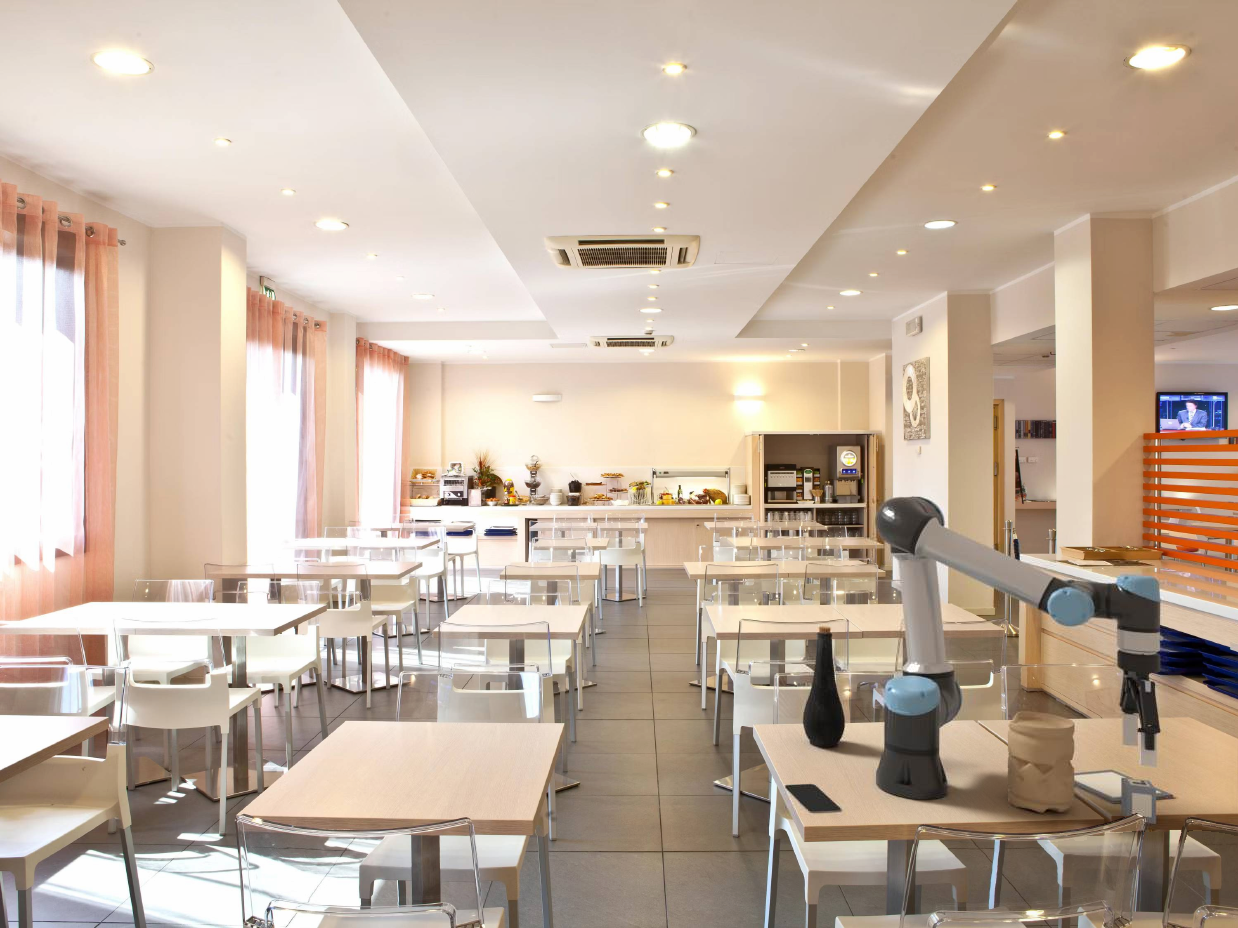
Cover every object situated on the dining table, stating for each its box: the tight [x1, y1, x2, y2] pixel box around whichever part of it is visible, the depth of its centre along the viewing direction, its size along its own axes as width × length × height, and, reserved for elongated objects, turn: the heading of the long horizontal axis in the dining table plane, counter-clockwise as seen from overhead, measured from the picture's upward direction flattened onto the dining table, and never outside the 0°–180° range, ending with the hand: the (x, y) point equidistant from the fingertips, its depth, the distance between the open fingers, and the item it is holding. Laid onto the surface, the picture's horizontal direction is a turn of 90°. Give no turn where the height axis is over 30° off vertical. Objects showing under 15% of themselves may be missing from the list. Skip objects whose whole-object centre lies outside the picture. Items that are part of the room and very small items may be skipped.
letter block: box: [1120, 777, 1157, 825], centre depth 168 cm, size 5×5×7 cm
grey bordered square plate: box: [1074, 769, 1174, 805], centre depth 185 cm, size 16×16×1 cm
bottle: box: [802, 626, 846, 749], centre depth 213 cm, size 11×11×30 cm
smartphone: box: [784, 783, 842, 814], centre depth 176 cm, size 7×1×15 cm
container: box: [1007, 710, 1076, 814], centre depth 174 cm, size 13×13×18 cm
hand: (1138, 754), depth 168 cm, fingers open, 13 cm apart
